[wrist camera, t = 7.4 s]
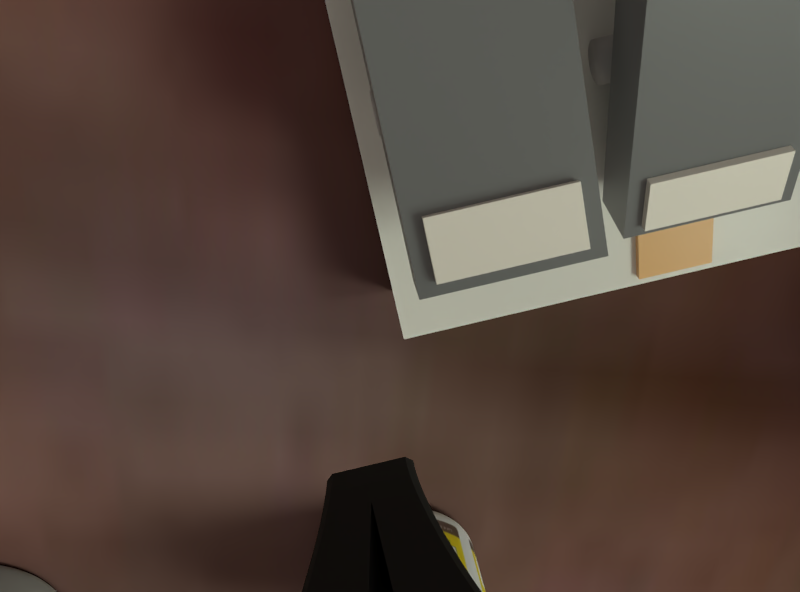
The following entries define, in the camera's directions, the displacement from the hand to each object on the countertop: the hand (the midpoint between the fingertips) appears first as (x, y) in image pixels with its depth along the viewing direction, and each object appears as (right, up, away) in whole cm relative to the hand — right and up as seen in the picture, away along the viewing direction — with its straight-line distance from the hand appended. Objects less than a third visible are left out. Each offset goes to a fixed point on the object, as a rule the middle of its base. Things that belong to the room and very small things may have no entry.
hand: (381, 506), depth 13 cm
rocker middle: (+7, +9, +4) cm, 12 cm away
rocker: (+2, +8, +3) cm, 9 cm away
